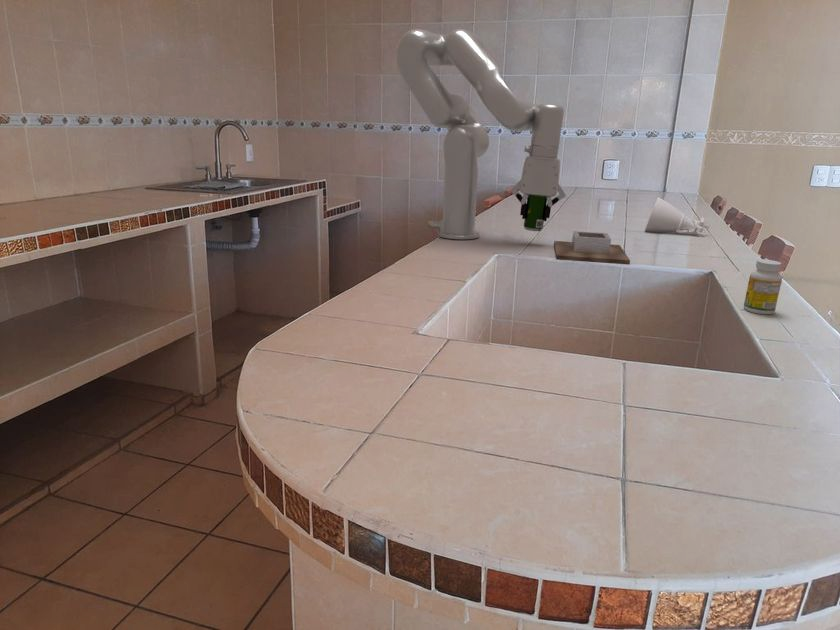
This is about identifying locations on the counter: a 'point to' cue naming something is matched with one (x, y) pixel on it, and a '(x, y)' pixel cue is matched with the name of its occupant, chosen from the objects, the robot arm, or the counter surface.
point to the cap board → (590, 249)
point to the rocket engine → (673, 220)
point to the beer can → (535, 212)
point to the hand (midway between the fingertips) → (534, 218)
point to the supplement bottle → (763, 287)
